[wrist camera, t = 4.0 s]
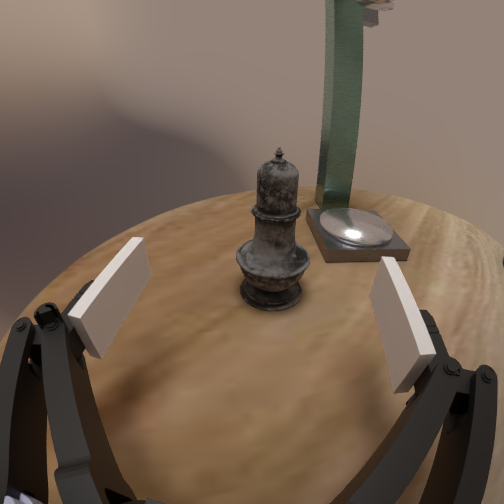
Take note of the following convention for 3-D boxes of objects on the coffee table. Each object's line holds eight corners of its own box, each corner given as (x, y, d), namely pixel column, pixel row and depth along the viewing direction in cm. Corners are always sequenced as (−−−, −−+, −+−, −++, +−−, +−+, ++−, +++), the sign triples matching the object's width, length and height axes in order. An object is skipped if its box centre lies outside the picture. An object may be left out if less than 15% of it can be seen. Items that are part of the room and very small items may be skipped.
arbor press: (356, 201, 43) (364, -53, 18) (406, 260, 28) (416, -93, 4) (296, 199, 42) (302, -67, 18) (326, 262, 28) (332, -123, 3)
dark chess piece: (226, 279, 25) (222, 143, 19) (283, 264, 27) (292, 139, 21) (255, 322, 21) (259, 160, 14) (318, 300, 23) (341, 155, 17)
